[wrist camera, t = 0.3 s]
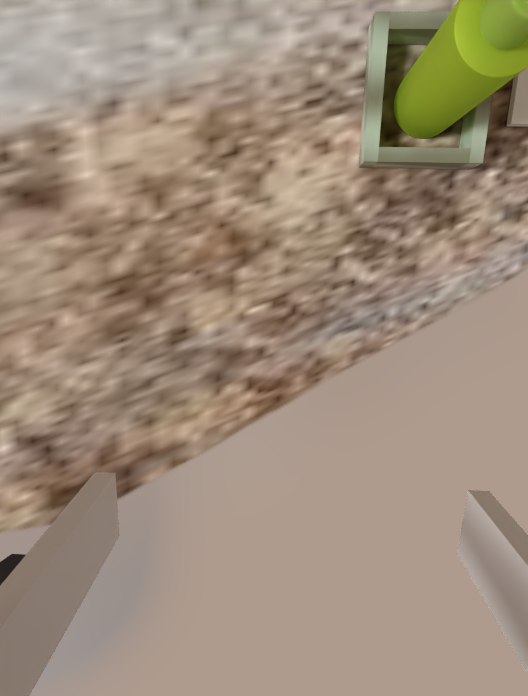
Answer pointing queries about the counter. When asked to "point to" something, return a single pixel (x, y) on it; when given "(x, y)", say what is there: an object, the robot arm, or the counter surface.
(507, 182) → the counter surface
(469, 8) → the soap dispenser
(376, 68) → the frame
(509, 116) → the mat
